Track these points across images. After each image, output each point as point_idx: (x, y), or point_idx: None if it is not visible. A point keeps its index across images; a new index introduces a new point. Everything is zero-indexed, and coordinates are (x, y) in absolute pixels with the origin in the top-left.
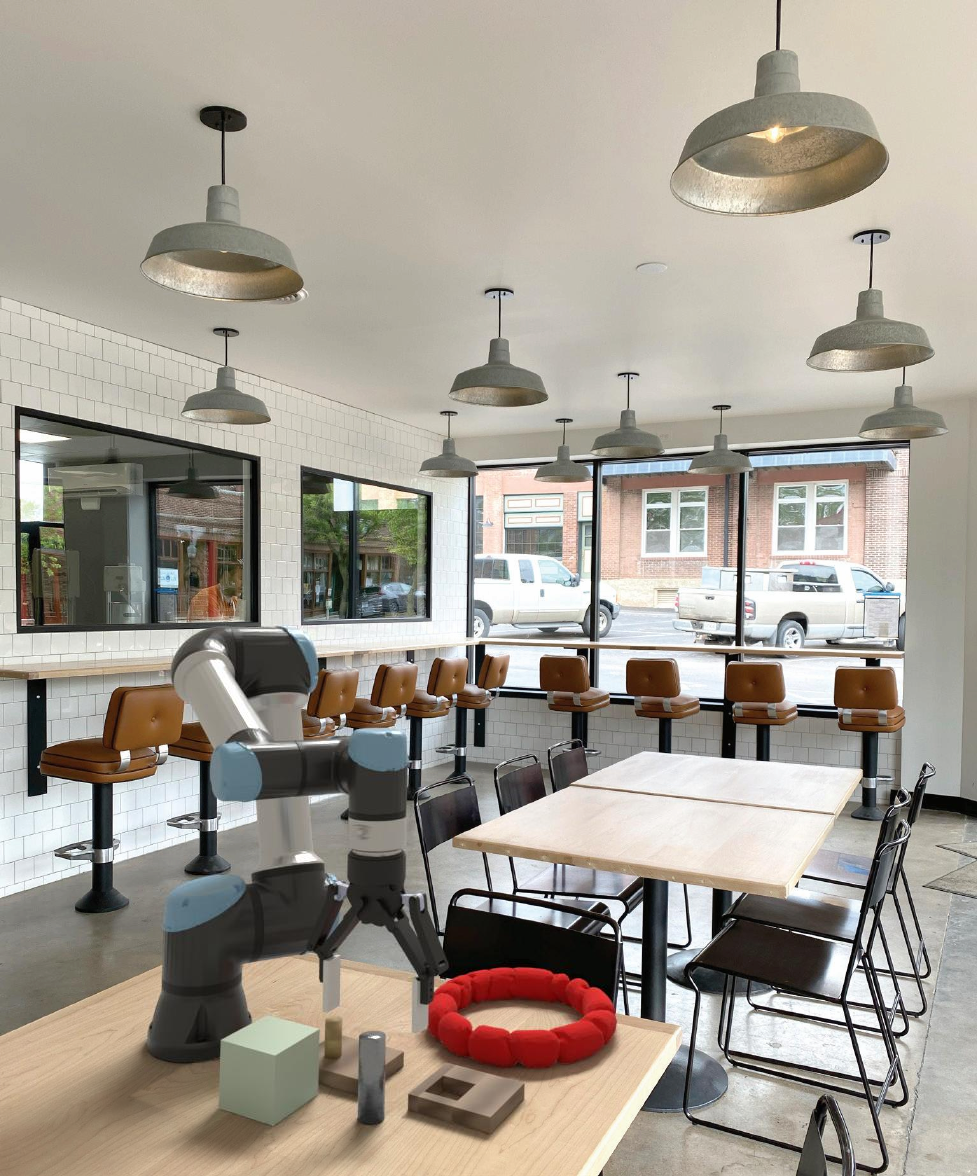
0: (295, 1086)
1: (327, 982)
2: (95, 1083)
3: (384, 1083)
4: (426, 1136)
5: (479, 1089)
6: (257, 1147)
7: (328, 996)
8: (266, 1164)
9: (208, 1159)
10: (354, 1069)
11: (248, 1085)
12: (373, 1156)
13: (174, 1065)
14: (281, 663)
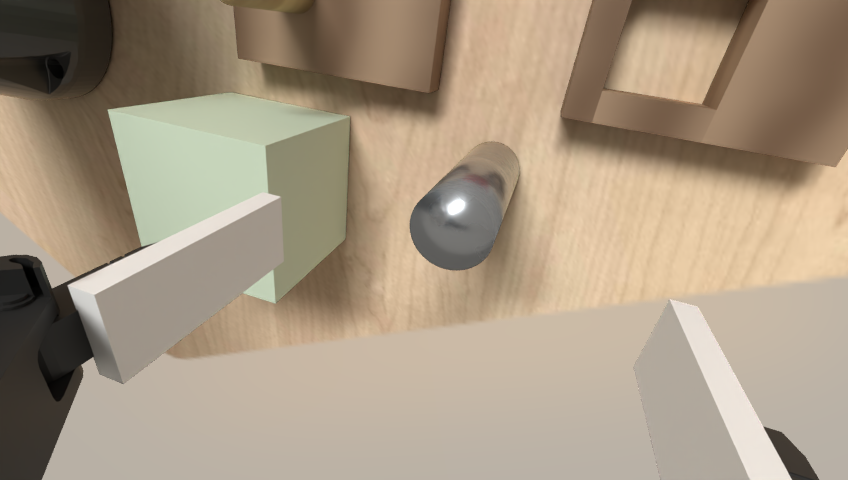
0: (325, 201)
1: (206, 318)
2: (68, 193)
3: (511, 186)
4: (633, 204)
5: (794, 11)
6: (360, 293)
7: (248, 283)
8: (396, 326)
9: (323, 326)
10: (380, 41)
11: None
12: (544, 285)
13: (86, 103)
14: None
